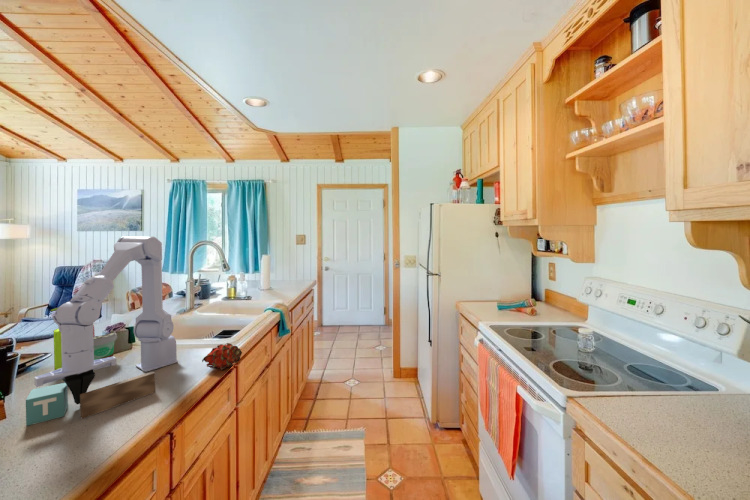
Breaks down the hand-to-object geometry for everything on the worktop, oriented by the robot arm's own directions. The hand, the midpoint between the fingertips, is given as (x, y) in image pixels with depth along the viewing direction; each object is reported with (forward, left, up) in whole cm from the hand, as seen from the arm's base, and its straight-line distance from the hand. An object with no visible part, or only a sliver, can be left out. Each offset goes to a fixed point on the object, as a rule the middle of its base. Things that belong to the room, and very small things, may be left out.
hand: (79, 402), depth 75 cm
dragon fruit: (-34, +7, -2) cm, 34 cm away
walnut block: (-7, +6, -1) cm, 9 cm away
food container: (-12, -27, -2) cm, 29 cm away
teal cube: (+5, -2, -1) cm, 6 cm away
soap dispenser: (-5, -33, -2) cm, 33 cm away
